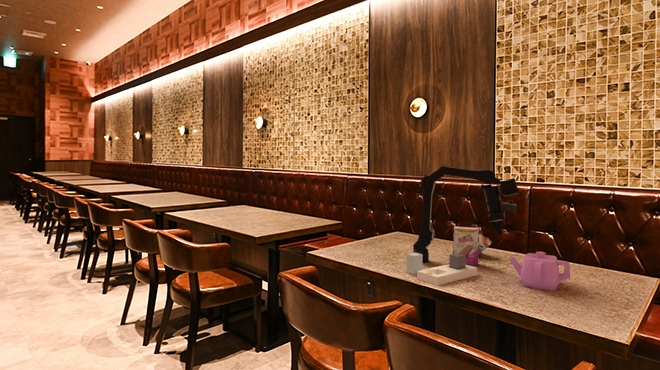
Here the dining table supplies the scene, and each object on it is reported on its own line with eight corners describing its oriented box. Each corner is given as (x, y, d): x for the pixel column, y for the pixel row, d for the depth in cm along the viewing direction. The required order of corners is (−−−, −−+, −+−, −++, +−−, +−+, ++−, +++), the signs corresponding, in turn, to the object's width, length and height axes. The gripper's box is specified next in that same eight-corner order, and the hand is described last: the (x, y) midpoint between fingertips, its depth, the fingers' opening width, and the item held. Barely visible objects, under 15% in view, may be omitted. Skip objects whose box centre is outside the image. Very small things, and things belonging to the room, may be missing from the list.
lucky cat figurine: (479, 250, 209) (491, 229, 202) (483, 265, 198) (496, 243, 192) (451, 242, 209) (462, 220, 203) (454, 256, 199) (466, 233, 192)
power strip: (417, 279, 157) (417, 270, 157) (456, 270, 171) (456, 261, 171) (437, 286, 149) (437, 276, 149) (476, 276, 163) (477, 266, 162)
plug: (406, 273, 166) (406, 254, 166) (414, 271, 169) (415, 252, 169) (413, 275, 163) (414, 256, 163) (422, 273, 166) (422, 254, 166)
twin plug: (449, 274, 163) (449, 254, 163) (456, 272, 166) (457, 253, 166) (457, 276, 160) (457, 256, 160) (465, 274, 163) (465, 255, 163)
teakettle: (537, 293, 143) (538, 258, 142) (505, 279, 159) (506, 248, 158) (576, 289, 147) (578, 256, 146) (541, 276, 163) (542, 246, 163)
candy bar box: (452, 264, 182) (453, 227, 181) (452, 261, 187) (453, 226, 186) (478, 266, 178) (479, 229, 177) (478, 263, 183) (479, 227, 182)
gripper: (513, 196, 162) (522, 235, 161) (512, 193, 179) (520, 227, 178) (484, 201, 166) (492, 239, 166) (486, 197, 183) (493, 231, 183)
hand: (500, 234), depth 173 cm, fingers open, 9 cm apart
